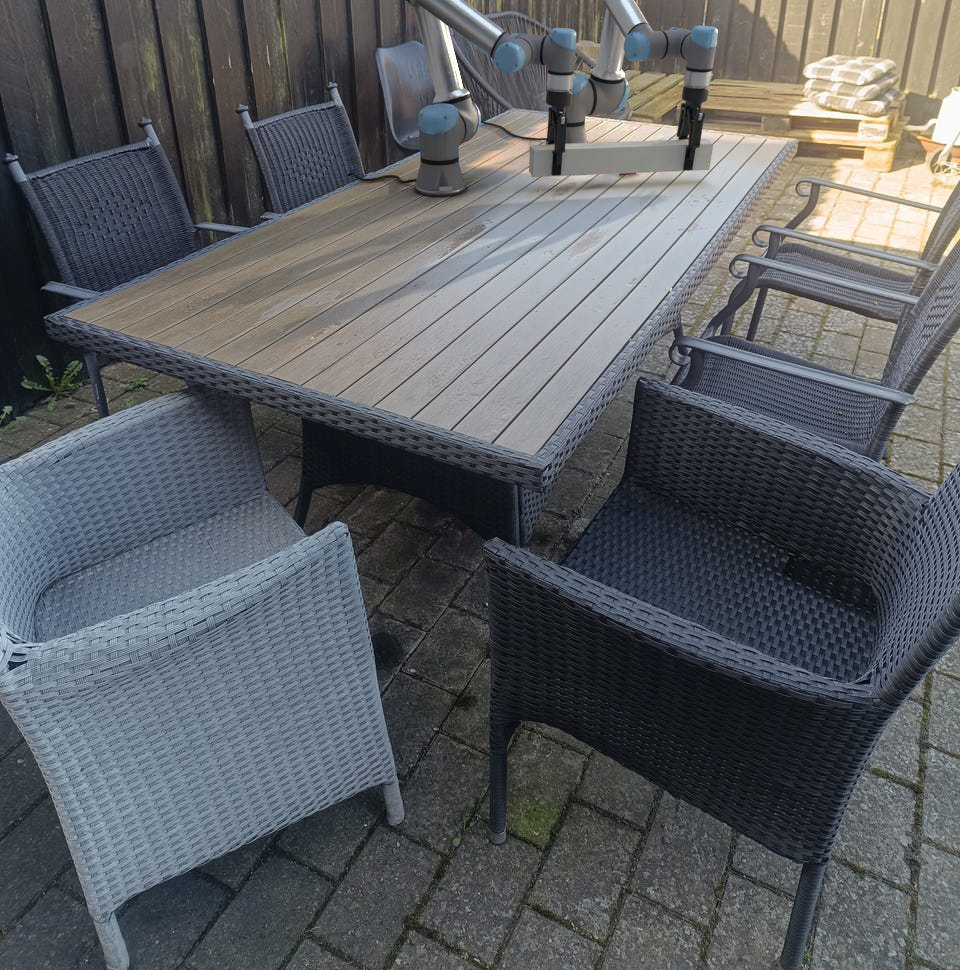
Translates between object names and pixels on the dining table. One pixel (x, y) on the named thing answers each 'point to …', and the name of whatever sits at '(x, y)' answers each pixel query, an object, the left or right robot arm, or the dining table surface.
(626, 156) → the beam
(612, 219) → the dining table surface
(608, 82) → the right robot arm
